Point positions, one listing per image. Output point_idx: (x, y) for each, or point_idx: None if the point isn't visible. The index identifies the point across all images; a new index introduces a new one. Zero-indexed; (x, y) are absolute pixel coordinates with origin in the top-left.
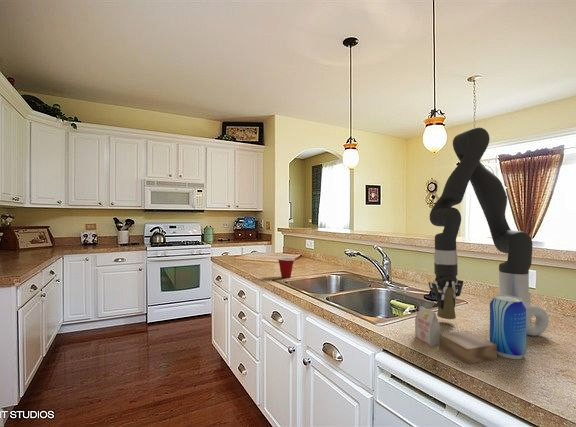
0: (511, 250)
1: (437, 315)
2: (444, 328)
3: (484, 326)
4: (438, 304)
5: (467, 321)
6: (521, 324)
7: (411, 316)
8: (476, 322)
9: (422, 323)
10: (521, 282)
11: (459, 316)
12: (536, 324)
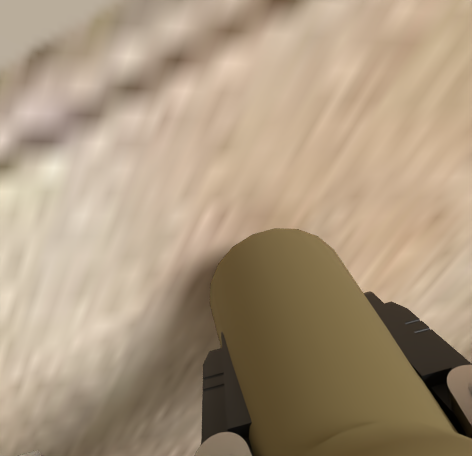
0: None
1: (211, 283)
2: (203, 354)
3: (458, 317)
4: (207, 394)
5: (427, 240)
6: None
7: (39, 120)
8: (468, 257)
9: None
10: None
11: (451, 136)
12: None
